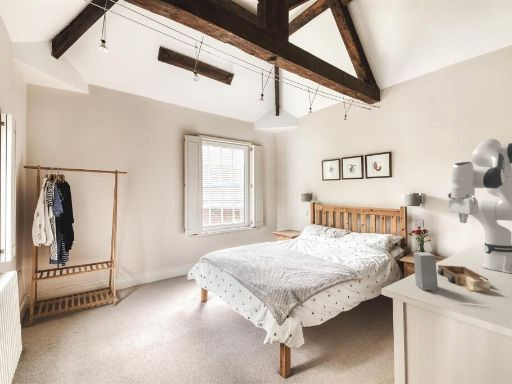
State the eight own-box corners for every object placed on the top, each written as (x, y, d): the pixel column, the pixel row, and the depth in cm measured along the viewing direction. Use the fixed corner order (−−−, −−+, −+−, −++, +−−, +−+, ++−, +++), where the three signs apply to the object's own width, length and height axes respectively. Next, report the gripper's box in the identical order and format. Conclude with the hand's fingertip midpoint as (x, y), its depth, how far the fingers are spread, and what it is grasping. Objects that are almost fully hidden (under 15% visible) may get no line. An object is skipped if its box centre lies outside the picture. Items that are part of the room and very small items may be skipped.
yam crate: (481, 286, 117) (481, 276, 117) (489, 291, 112) (489, 280, 112) (466, 285, 119) (466, 275, 119) (473, 290, 113) (473, 279, 113)
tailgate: (485, 286, 118) (494, 291, 111) (485, 288, 118) (494, 294, 111) (461, 284, 120) (469, 289, 114) (461, 286, 120) (469, 292, 114)
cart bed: (467, 275, 138) (467, 266, 138) (491, 289, 117) (491, 279, 117) (435, 272, 142) (435, 264, 142) (454, 286, 121) (454, 276, 121)
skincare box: (438, 291, 115) (438, 255, 115) (420, 290, 116) (420, 255, 117) (429, 284, 123) (429, 251, 123) (413, 283, 125) (413, 251, 125)
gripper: (483, 194, 116) (483, 225, 116) (460, 194, 136) (460, 220, 136) (466, 194, 118) (466, 225, 118) (446, 194, 138) (446, 220, 138)
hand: (463, 222), depth 127 cm, fingers closed
